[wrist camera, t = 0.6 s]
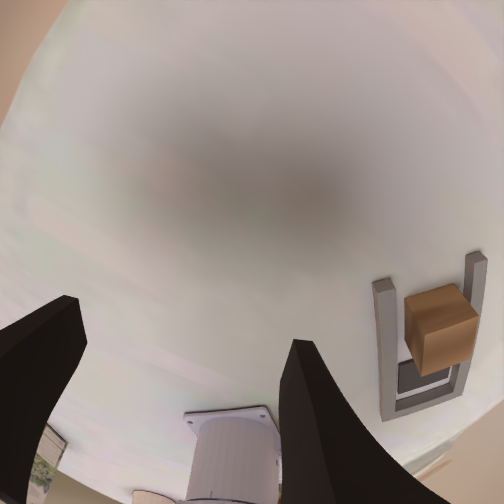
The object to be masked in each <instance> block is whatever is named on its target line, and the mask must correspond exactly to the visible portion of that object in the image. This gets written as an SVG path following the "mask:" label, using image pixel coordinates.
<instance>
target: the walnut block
mask: <svg viewBox="0 0 504 504" xmlns="http://www.w3.org/2000/svg"><path fill="white" fill-rule="evenodd" d="M404 308H405V342H406V344H407V346H408V348H409V350H410V353H411V355H412V357H413V359H414V362H415V364H416V366H417V369H418V371H419V373H420V376H421V377H422V376H425V375H428V374H431V373H434V372H437V371H439V370H442V369H445V368H448V367H450V366H453V365H455V364H458V363H461V362H463V361H466V360H468V359H470V358H471V354H472V349H473V345H474V340H475V335H476V330H477V324H478V318H479V315H478V314H477V312H476V311H475V310H474V308H473V307H472V306H471V305H470V303H469V302H468V301H467V299H466V298H465V297H464V296H463V294H462V293H461V292H460V291H459V289H458V288H457V287H456V286H455V284H454V283H452V284H449V285H446V286H443V287H439V288H436V289H433V290H430V291H427V292H424V293H420V294H417V295H414V296H410V297H407V298H404Z"/></svg>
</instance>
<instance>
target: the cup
mask: <svg viewBox="0 0 504 504" xmlns="http://www.w3.org/2000/svg"><path fill="white" fill-rule="evenodd" d="M132 504H175V502H174V501H172V500H170V499H168V498H166V497H164V496H161V495H158V494H154V493H151V492H146V491H134V492H133V501H132Z"/></svg>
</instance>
